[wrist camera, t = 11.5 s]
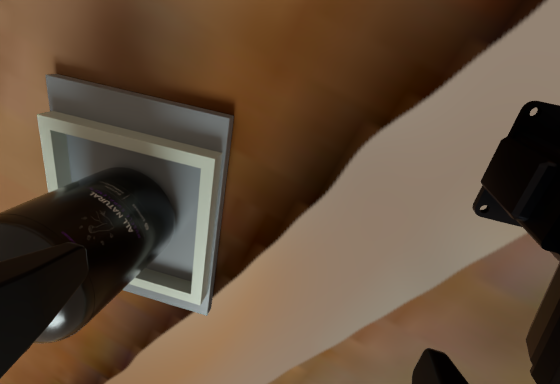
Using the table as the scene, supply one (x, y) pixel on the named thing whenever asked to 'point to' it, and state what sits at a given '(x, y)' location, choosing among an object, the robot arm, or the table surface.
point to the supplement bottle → (93, 236)
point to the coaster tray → (148, 172)
